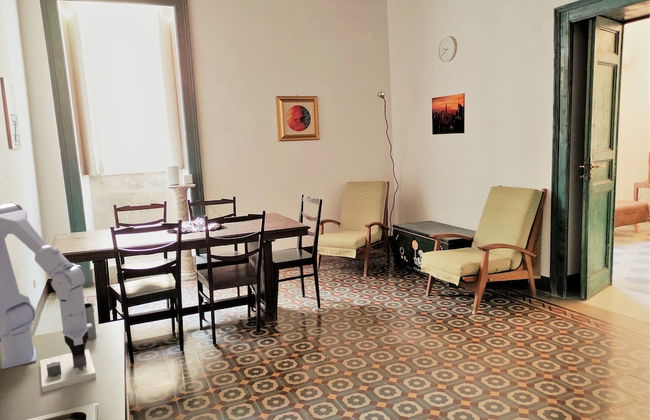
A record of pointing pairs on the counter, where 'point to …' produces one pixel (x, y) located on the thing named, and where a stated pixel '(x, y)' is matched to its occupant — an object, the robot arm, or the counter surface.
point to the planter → (90, 320)
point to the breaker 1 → (53, 369)
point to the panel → (66, 372)
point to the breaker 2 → (79, 360)
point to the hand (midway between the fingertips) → (79, 359)
